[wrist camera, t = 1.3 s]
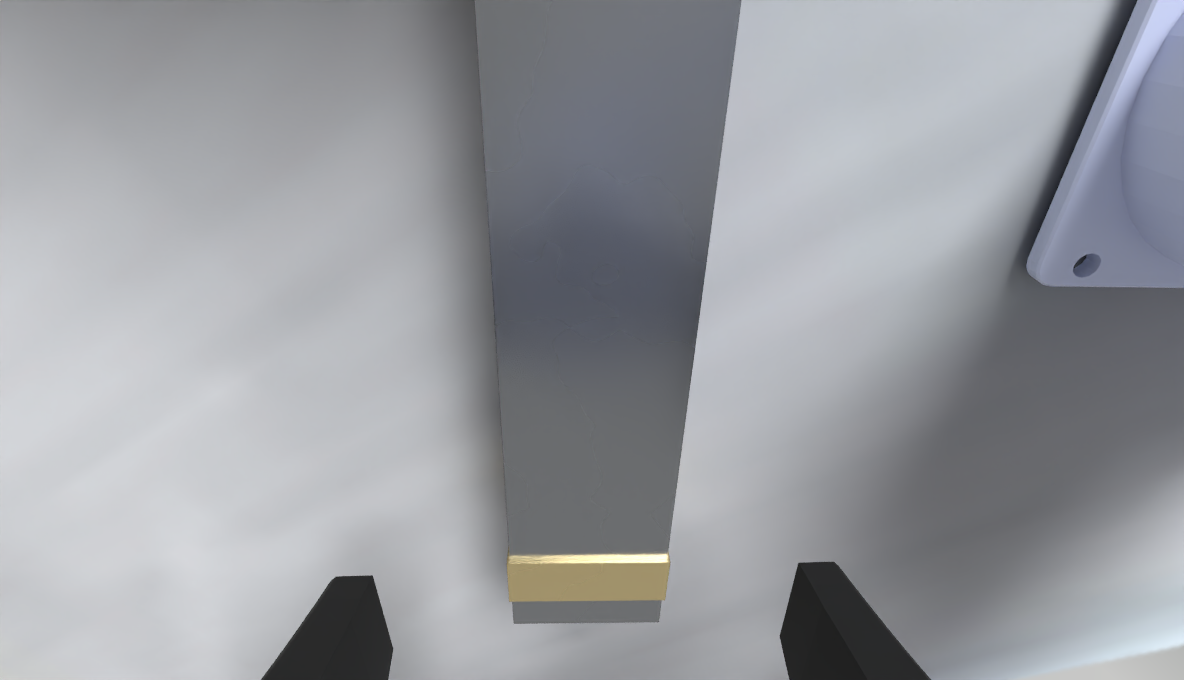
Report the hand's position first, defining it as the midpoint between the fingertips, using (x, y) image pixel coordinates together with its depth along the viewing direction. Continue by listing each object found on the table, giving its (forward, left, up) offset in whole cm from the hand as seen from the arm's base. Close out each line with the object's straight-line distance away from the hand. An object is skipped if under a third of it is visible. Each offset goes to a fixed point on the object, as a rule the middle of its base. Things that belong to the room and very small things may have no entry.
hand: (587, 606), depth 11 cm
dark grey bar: (0, -5, -5) cm, 7 cm away
